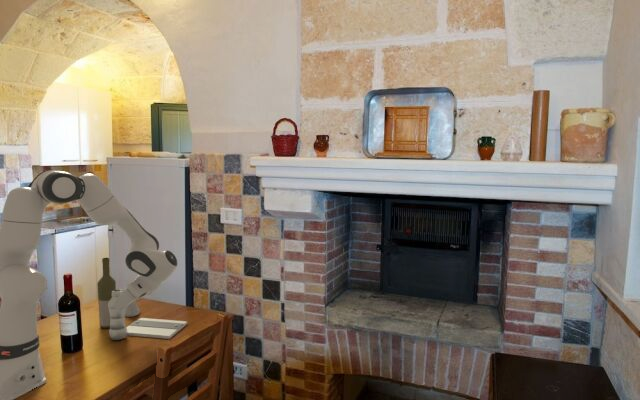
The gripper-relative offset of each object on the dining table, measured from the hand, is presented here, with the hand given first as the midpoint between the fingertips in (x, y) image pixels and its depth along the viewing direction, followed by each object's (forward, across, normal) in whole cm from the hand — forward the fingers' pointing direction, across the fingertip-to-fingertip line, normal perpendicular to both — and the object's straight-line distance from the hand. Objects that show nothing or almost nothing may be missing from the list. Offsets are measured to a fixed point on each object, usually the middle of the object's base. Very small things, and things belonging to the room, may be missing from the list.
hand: (123, 305), depth 178 cm
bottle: (+21, -11, 0) cm, 23 cm away
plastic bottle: (+12, 0, +8) cm, 15 cm away
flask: (+19, -26, +1) cm, 32 cm away
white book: (+6, -12, +14) cm, 19 cm away
